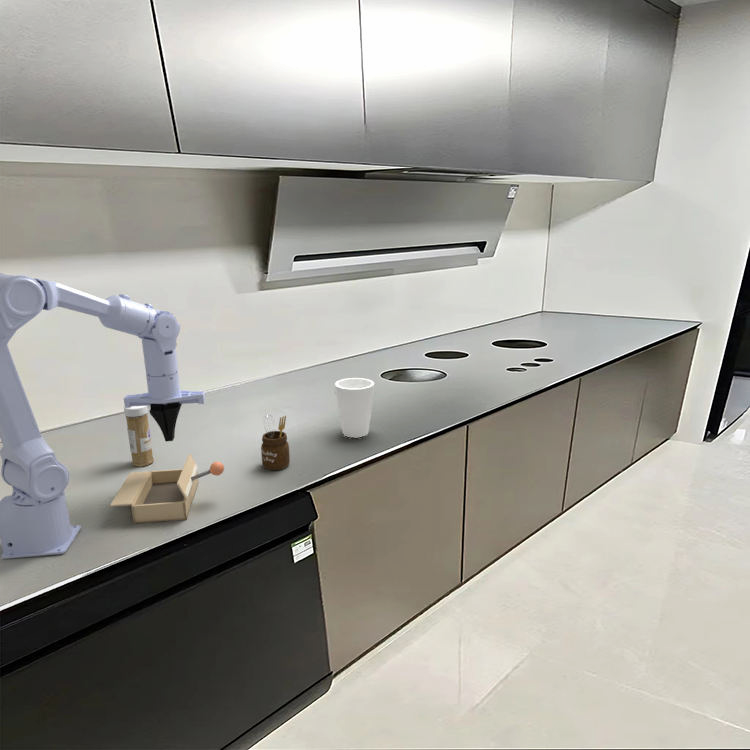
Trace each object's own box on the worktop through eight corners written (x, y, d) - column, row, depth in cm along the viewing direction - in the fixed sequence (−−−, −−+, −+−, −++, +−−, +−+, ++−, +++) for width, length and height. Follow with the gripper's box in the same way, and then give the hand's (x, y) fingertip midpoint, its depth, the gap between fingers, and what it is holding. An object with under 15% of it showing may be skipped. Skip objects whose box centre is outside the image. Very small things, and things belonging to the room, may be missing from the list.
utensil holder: (277, 456, 125) (274, 406, 121) (296, 464, 121) (294, 412, 117) (256, 465, 120) (252, 413, 117) (275, 474, 116) (272, 420, 113)
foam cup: (328, 433, 138) (327, 383, 134) (357, 423, 144) (356, 375, 140) (353, 444, 131) (352, 392, 127) (382, 434, 137) (382, 383, 133)
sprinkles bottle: (154, 465, 121) (147, 406, 117) (131, 468, 119) (123, 409, 115) (153, 457, 125) (146, 400, 121) (131, 460, 123) (123, 403, 119)
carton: (112, 525, 97) (109, 506, 96) (133, 488, 111) (130, 471, 110) (186, 519, 99) (184, 501, 98) (198, 483, 112) (196, 466, 111)
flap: (176, 483, 98) (212, 469, 98) (188, 454, 110) (221, 440, 110) (186, 502, 99) (222, 487, 99) (197, 470, 111) (229, 457, 111)
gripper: (204, 365, 110) (210, 429, 114) (127, 368, 108) (136, 433, 112) (199, 375, 103) (205, 442, 107) (117, 379, 101) (126, 447, 105)
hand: (169, 439), depth 109 cm, fingers closed
